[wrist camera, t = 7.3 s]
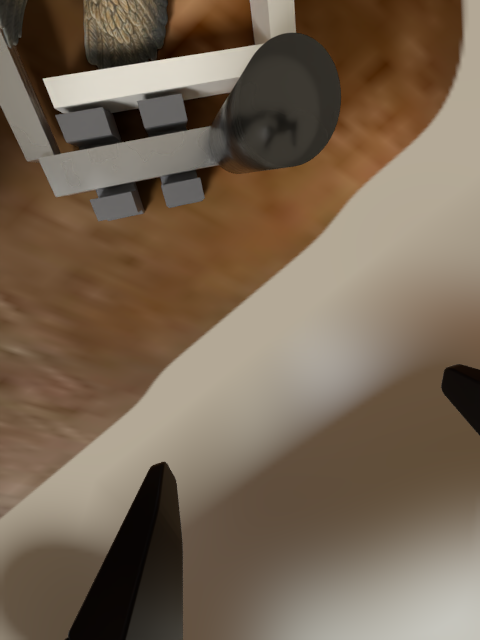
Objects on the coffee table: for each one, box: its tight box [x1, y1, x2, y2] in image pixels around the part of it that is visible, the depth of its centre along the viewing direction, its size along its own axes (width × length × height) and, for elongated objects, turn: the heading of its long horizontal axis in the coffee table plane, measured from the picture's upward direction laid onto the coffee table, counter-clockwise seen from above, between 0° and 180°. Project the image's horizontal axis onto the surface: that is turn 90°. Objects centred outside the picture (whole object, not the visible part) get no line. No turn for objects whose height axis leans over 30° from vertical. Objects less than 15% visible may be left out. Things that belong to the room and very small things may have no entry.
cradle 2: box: [137, 94, 205, 208], centre depth 14 cm, size 2×5×3 cm, turn 11°
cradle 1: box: [55, 107, 145, 221], centre depth 14 cm, size 2×5×3 cm, turn 11°
